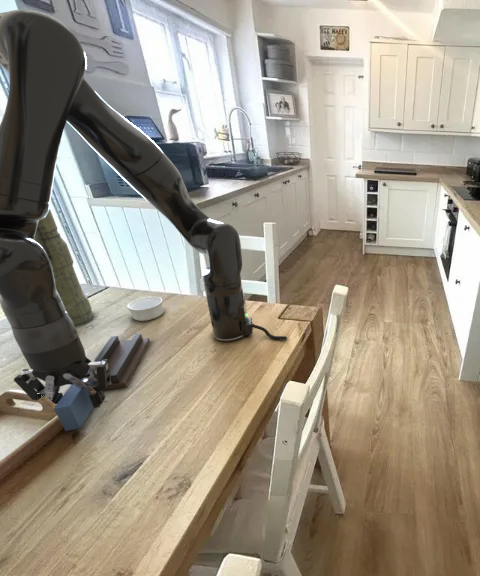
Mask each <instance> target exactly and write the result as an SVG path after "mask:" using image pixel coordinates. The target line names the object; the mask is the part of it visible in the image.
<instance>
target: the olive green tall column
mask: <svg viewBox="0 0 480 576" xmlns="http://www.w3.org/2000/svg"><path fill="white" fill-rule="evenodd" d="M34 241H36V242H37V243H38V244H40V245H41V246H42V248H43V249H44V250H45V252H46V254H47V256H48V258H49V260H50V263H51V266H52V269H53V274H54V279H55V284H56V290H57V292H58V294H59V296H60V298H61V300H62V302H63V305H64V307H65V309H66V312H67V314H68V315H69V317H70V318H71V320H72V321H73V324H74V326H75V327H78V326H79V327H80V326H82V325H85V324H87V323H89V322H90V321H92V320H93V319H94V317H95V315H94V313H93V311H92V309H93V308H92V306H91V303H90V300H89V298H88V297H87V295H86V294H85V293H84V291H83V289H82V286H81V283H80V281H79V279H78V278H79V277H78V276H77V273H76V271H75V269H74V259H73V257H72V254H71V252H70V249H69V247H68V243H67V242H66V241H65V240H64V239H63V238H62V237H61V234H60V233H59V232H58V226H57V224H56V221H55V219H54V215H53V213H52V211H51V209H50V208H49V210H48V213H47V215H46V217H44V218H43V219H41V220H39V221H38V225H37V229H36V233H35V239H34Z"/></svg>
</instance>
